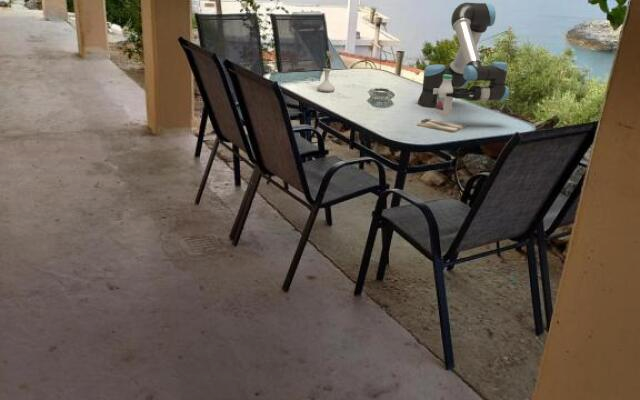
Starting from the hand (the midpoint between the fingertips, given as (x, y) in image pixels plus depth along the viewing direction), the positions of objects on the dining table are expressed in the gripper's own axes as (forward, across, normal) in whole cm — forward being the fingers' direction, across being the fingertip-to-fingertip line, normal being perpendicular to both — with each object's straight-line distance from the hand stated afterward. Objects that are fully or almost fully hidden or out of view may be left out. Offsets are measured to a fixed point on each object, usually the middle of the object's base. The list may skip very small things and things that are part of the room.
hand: (436, 92), depth 296 cm
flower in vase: (+38, +89, -17) cm, 98 cm away
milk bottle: (-5, 0, -11) cm, 12 cm away
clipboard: (-5, 0, -17) cm, 18 cm away
